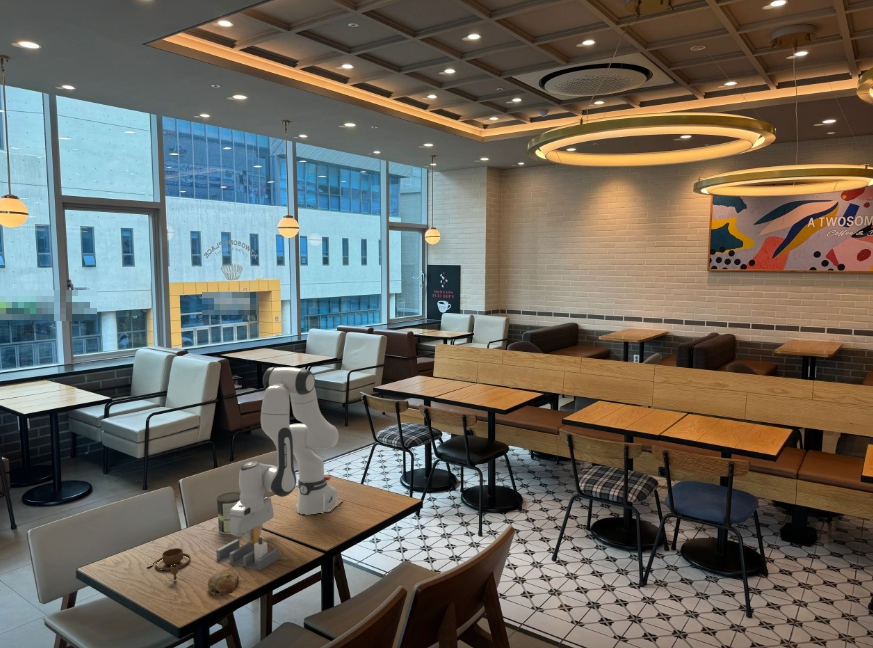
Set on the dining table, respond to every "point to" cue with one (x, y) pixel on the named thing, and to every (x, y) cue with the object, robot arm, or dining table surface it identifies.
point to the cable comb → (245, 555)
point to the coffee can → (226, 510)
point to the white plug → (260, 549)
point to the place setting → (173, 560)
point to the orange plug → (254, 535)
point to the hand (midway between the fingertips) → (253, 538)
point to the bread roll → (223, 582)
